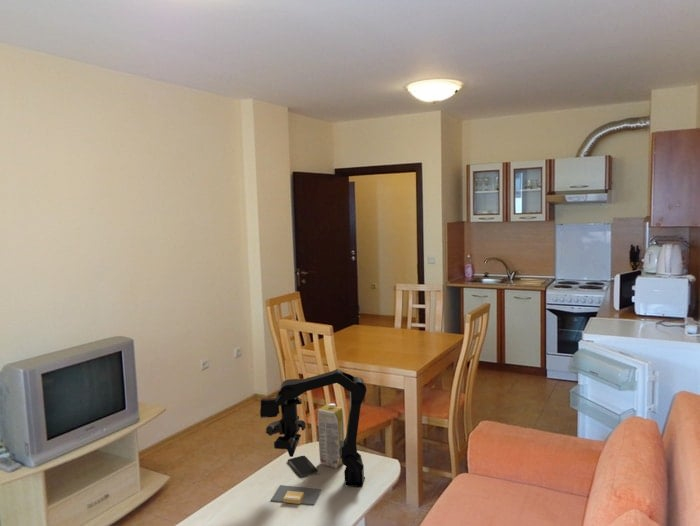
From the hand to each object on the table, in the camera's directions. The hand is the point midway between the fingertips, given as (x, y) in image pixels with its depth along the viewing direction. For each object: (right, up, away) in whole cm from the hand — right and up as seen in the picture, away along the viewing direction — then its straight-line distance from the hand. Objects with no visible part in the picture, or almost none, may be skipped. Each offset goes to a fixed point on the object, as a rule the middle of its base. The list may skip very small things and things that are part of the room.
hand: (291, 456), depth 194 cm
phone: (+3, -11, +16) cm, 20 cm away
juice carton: (+14, -10, +19) cm, 25 cm away
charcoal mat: (+2, -13, -4) cm, 13 cm away
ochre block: (+2, -12, -5) cm, 13 cm away
